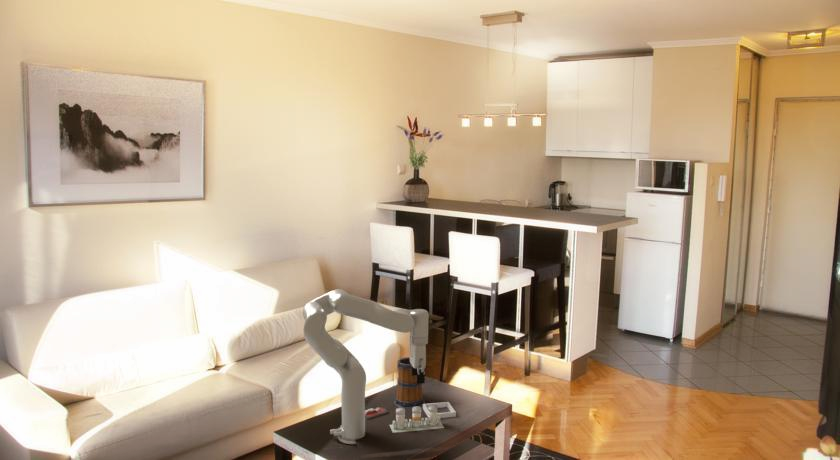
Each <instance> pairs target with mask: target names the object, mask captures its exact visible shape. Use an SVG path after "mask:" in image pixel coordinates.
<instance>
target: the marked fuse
mask: <svg viewBox="0 0 840 460" xmlns="http://www.w3.org/2000/svg"><path fill="white" fill-rule="evenodd" d="M411 411H412V416H411V417H412V418H411V420H412V427H413V428H420V427H421V418H422V406H421V407H419V406H415V407H413V408H411Z"/></svg>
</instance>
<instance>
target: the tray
mask: <svg viewBox="0 0 840 460" xmlns="http://www.w3.org/2000/svg"><path fill="white" fill-rule="evenodd" d="M430 405H436V406H437V409H441V408H447V409H448V410H449V411H448V412H446V411H445V412H437V417H440V418H441V419H447V418H456V417H457V412H456V410H455V409H454V408H453V406H452V405H451V403H450V402H449V401H442V402H431V403H425V404H423V406H422V409H423V411H424V413H425V415H426V416H427V418H428V419H429V411H428V406H430Z"/></svg>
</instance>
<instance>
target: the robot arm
mask: <svg viewBox="0 0 840 460" xmlns="http://www.w3.org/2000/svg"><path fill="white" fill-rule="evenodd" d="M332 313H336V314H339V315H342V316H345V317H350V318H352V319H353V318H354V319H357V320H361V321H363V322H364V321H365V322H368V323H370V324H372V325H376V326H380V327H381V328H385V329H388V330H391V331H394V332H398V333H403V334H405V333H409V343H410V350H409V357H410V363H411V365H412V376H414V375H417V384H421V383H422V384H425V379H426V377H425V375H426V373H425V371H426V369H425V368H426V365H427V347H426V345H427V344H428V343H429V315H430V313H429V312H428V310H426V309H423V308H415V309H405V308H397V309H394V310H392V309H389V308H387V307H385V306H384V305H381V304H380V303H378V302H376V301H374V300H371V299H368V298H364V297H361V296H357V295H353V294H351V293H350V294H349V293H348V292H347V291H346V290H344V289H341V288H337V289H333V290H331V291H329V292H327V293H325V294H323V295H321V296H319V297H316V298H315V299H312V300H311V301H308V302H307V303H306V304H305V305H304V306H303V310H302V316H303V318H304V325H303V336H304V339H305V341H306V342H307V345H309V346H310V348H312V349H313V351H314V352H315V353H316V354H317V355H318V356H319V357H320V358H321V359H322V360H323V361H324V363H325V364H326V365H327V366H328V367H330V368H332V369H334V371H336V373H337V374H338V375H339V377H340V379H341V393H340V394H341V396H340V397H341V401H340V402H341V425H339V427H338V428H332V429H330V430H329V434H330V435H333V436H334V437H336V436H337V440H338V441H339V442H341V443H343V444H345V445H346V444H348V445H357V442H356V440H359V439H361V438H364V437H365V435H366V419H365V410H366V383H367V374H366V371H365V368H364V367H363V366H362V363H360V361H359V360H358V359H357V358H356V357H355V356H354V354H353V353H351V351H349V350H348V348H347V347H346V346H345V345H344V344H343V343H342V342H341V341H340V340H338V339H335V338H333V337H332V335H331V334H330V333H329V332H328V331H327V330H326V325H327V324H326V323H327V321H328V320H327V319H328V316H329V315H331V314H332ZM419 366H420V367H419ZM419 369H420V371H419Z"/></svg>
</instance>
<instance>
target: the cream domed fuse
mask: <svg viewBox="0 0 840 460" xmlns="http://www.w3.org/2000/svg"><path fill="white" fill-rule="evenodd" d="M405 419H406V408H401V407H397V408H395V424H396V429H398V430H403V429H405Z"/></svg>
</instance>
